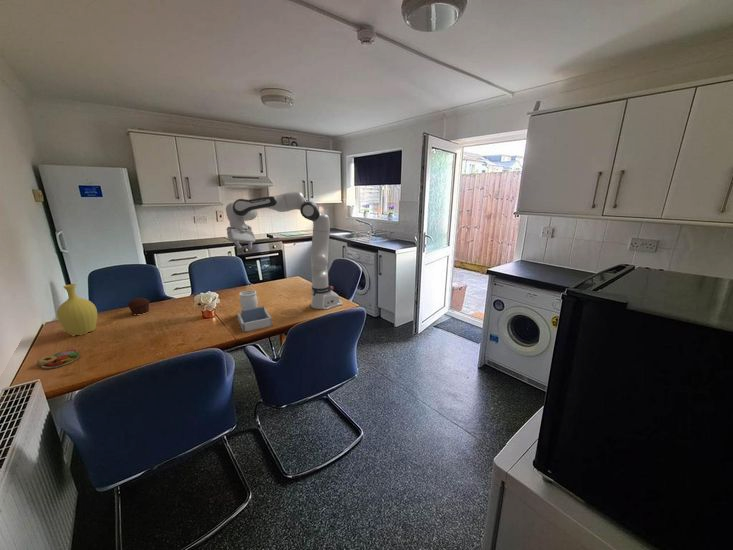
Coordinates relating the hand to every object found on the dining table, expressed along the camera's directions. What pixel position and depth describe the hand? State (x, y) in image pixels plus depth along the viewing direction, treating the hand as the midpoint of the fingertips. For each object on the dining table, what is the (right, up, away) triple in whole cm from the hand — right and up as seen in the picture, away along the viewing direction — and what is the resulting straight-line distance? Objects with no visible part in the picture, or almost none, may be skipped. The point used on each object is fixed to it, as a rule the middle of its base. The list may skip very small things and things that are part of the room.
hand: (245, 248), depth 185 cm
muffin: (-73, -42, +8) cm, 84 cm away
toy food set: (-68, -58, -47) cm, 101 cm away
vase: (-85, -50, -18) cm, 100 cm away
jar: (+1, -43, +7) cm, 43 cm away
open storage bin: (+8, -46, -6) cm, 47 cm away
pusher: (+7, -45, -4) cm, 46 cm away
